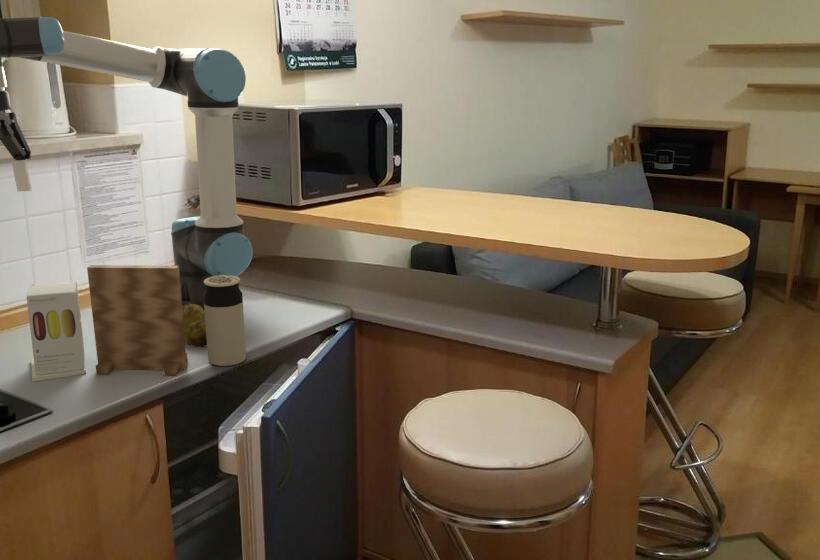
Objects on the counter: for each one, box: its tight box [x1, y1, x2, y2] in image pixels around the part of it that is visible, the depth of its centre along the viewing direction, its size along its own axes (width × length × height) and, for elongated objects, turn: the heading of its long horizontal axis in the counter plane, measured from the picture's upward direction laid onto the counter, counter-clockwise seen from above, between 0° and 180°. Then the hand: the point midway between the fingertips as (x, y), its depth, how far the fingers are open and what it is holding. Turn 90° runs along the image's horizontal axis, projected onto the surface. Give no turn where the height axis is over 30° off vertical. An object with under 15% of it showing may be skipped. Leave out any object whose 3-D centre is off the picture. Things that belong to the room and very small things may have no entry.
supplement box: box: [26, 280, 86, 375], centre depth 163 cm, size 10×9×17 cm
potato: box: [182, 304, 207, 348], centre depth 180 cm, size 8×13×8 cm, turn 16°
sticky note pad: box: [30, 357, 87, 383], centre depth 165 cm, size 10×12×1 cm
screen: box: [86, 264, 188, 377], centre depth 162 cm, size 18×8×22 cm, turn 89°
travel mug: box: [204, 275, 247, 367], centre depth 167 cm, size 8×8×18 cm
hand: (7, 197), depth 161 cm, fingers open, 13 cm apart
